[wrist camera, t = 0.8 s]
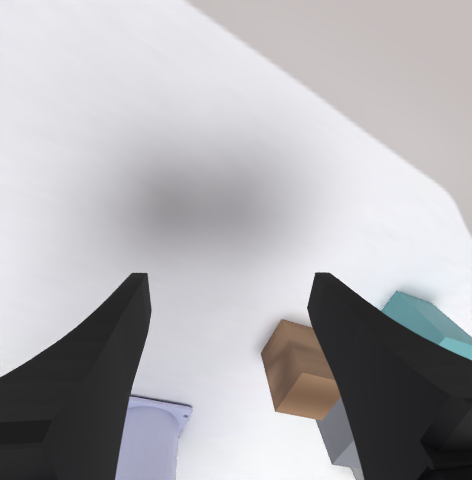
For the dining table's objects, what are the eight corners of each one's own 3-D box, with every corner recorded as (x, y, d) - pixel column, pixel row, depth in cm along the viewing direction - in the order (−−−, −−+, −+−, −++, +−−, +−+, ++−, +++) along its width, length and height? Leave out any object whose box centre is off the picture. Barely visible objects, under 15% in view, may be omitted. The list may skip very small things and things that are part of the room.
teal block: (403, 336, 30) (449, 388, 24) (369, 326, 28) (409, 377, 23) (431, 303, 28) (486, 350, 23) (396, 290, 27) (445, 336, 22)
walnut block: (299, 362, 30) (322, 420, 24) (260, 353, 28) (275, 411, 23) (321, 330, 28) (350, 384, 23) (281, 318, 27) (302, 372, 21)
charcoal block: (342, 411, 34) (369, 469, 28) (310, 405, 33) (332, 464, 27) (363, 385, 32) (396, 442, 27) (330, 378, 31) (358, 435, 26)
